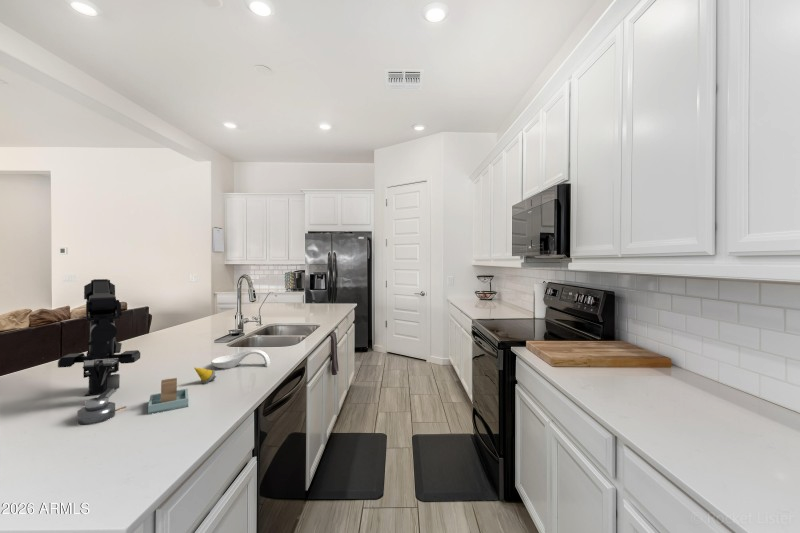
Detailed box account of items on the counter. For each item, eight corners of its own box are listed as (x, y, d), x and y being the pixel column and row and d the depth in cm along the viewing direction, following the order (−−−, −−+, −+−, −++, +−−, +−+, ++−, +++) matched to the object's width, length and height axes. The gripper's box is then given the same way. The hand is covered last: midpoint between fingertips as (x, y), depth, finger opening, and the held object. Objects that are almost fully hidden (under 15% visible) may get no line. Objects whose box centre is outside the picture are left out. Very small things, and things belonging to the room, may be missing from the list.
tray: (150, 402, 104) (150, 394, 104) (187, 395, 110) (187, 388, 110) (148, 414, 96) (148, 406, 96) (188, 406, 102) (188, 398, 102)
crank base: (81, 414, 95) (82, 404, 95) (126, 406, 101) (126, 397, 101) (73, 427, 88) (73, 416, 88) (121, 418, 93) (122, 408, 93)
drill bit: (217, 384, 122) (196, 371, 116) (206, 389, 123) (185, 376, 117) (222, 372, 126) (202, 358, 120) (211, 376, 127) (191, 363, 121)
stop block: (161, 401, 103) (161, 380, 103) (176, 399, 106) (176, 377, 106) (160, 406, 100) (161, 383, 100) (176, 403, 102) (176, 381, 102)
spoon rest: (206, 372, 135) (206, 354, 134) (217, 363, 146) (217, 347, 146) (265, 370, 138) (266, 353, 138) (272, 361, 150) (272, 346, 150)
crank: (104, 408, 92) (104, 390, 92) (81, 412, 90) (81, 393, 90) (124, 388, 107) (124, 373, 106) (105, 391, 104) (105, 375, 104)
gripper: (147, 330, 113) (145, 374, 113) (78, 332, 107) (76, 379, 107) (134, 337, 103) (132, 385, 103) (57, 340, 96) (55, 392, 96)
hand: (100, 385), depth 103 cm, fingers closed
